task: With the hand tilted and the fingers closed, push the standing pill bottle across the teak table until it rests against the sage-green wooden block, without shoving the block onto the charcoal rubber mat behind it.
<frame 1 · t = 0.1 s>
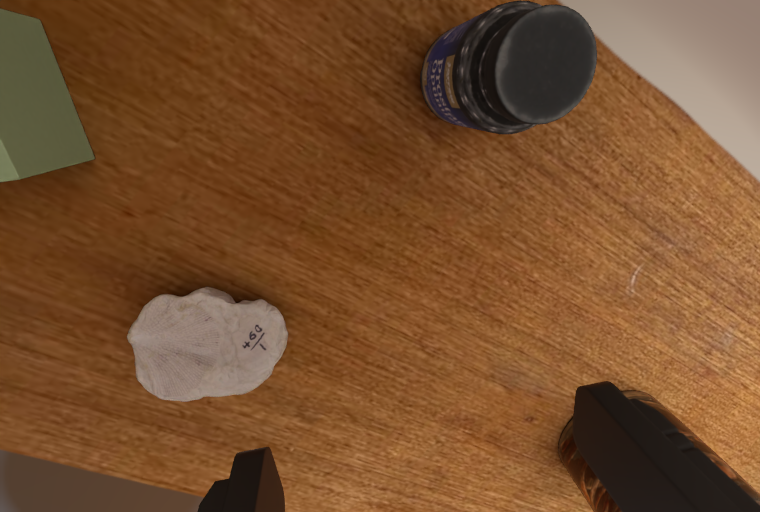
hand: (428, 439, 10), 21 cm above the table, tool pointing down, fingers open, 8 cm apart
green block: (1, 102, 24), on the table
fossil: (217, 326, 32), on the table
pill bottle: (461, 78, 27), on the table
jar: (608, 431, 43), on the table
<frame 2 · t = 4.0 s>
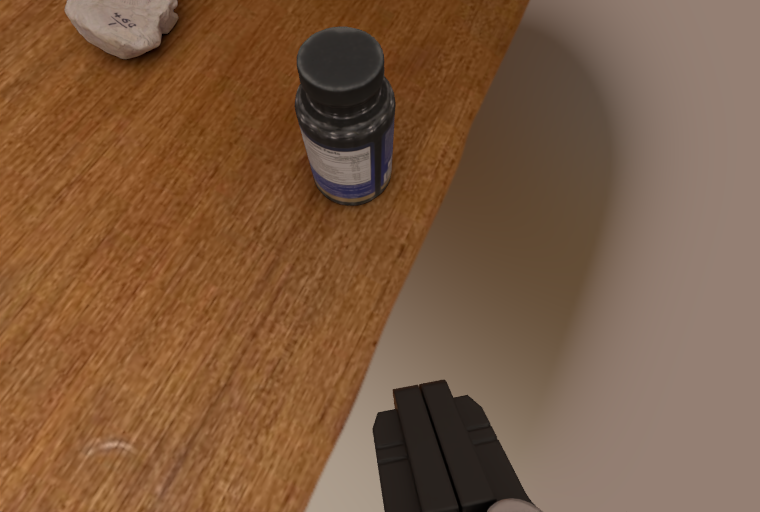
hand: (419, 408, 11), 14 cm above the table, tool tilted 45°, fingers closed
fossil: (139, 29, 37), on the table
pill bottle: (352, 176, 31), on the table
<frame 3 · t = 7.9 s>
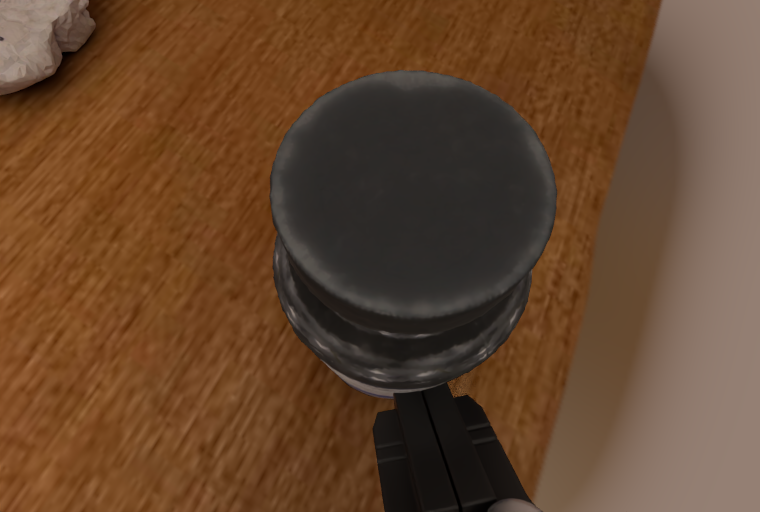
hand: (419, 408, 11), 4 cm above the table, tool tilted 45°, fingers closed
fossil: (34, 43, 23), on the table
pill bottle: (391, 325, 17), on the table, touching gripper
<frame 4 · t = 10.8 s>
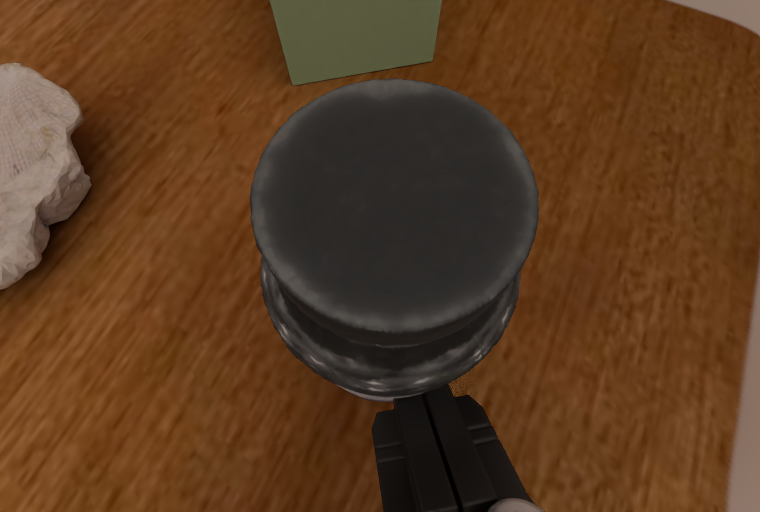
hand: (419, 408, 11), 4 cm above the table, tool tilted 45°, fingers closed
green block: (349, 24, 23), on the table
fossil: (18, 201, 19), on the table
pill bottle: (385, 327, 17), on the table, touching gripper
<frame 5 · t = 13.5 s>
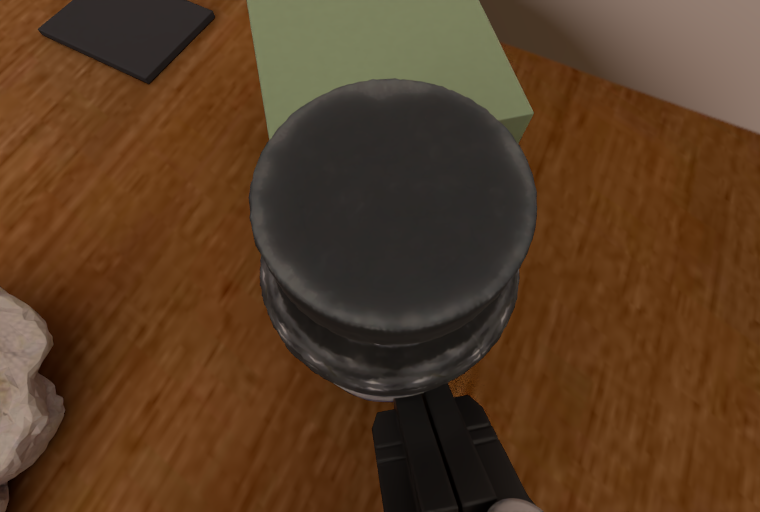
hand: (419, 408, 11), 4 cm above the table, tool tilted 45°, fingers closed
green block: (377, 166, 20), on the table
pill bottle: (385, 327, 17), on the table, touching gripper
rubber mat: (130, 26, 23), on the table
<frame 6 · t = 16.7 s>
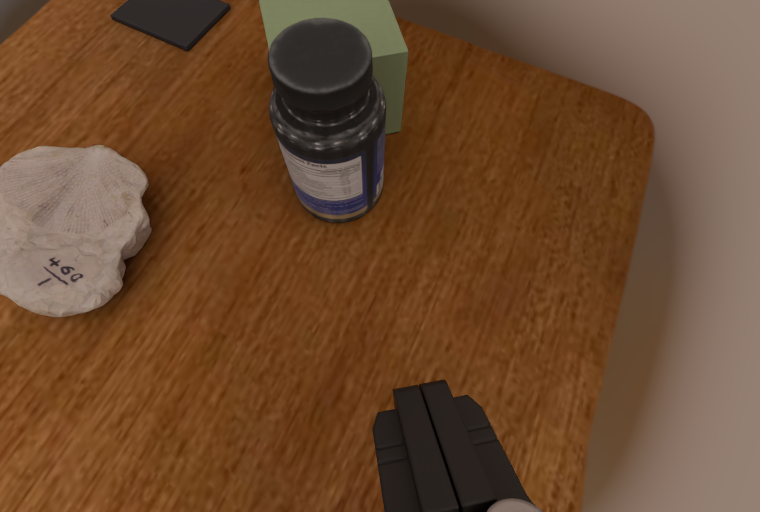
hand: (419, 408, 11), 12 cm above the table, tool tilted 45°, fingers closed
green block: (338, 101, 31), on the table
fossil: (96, 242, 26), on the table
pill bottle: (339, 189, 28), on the table
rubber mat: (172, 14, 34), on the table
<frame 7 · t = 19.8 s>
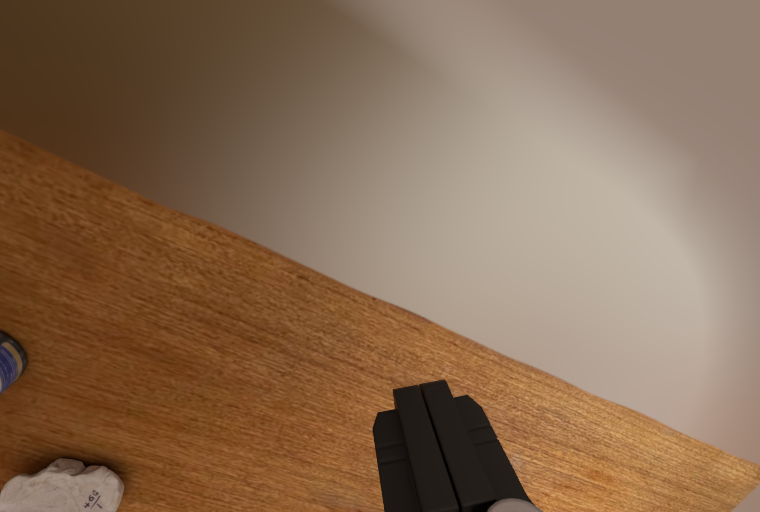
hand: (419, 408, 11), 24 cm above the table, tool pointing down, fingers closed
fossil: (77, 479, 41), on the table
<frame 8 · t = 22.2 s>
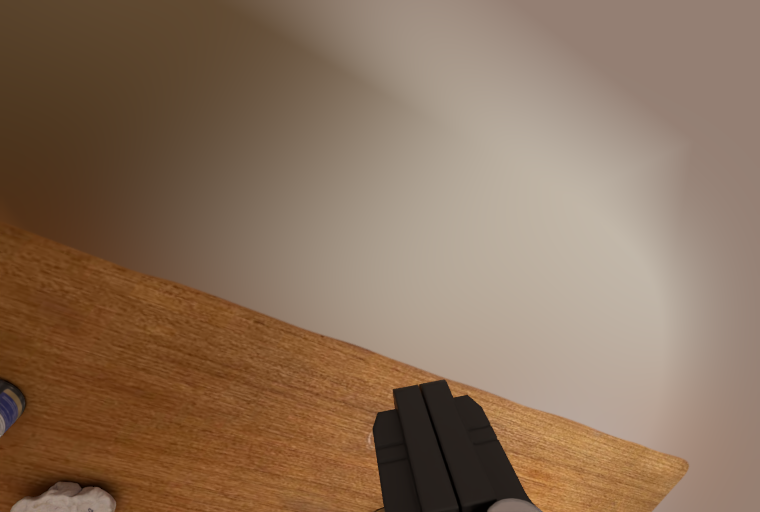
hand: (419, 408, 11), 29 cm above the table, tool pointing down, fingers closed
fossil: (75, 499, 48), on the table
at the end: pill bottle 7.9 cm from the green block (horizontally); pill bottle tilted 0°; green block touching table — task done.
